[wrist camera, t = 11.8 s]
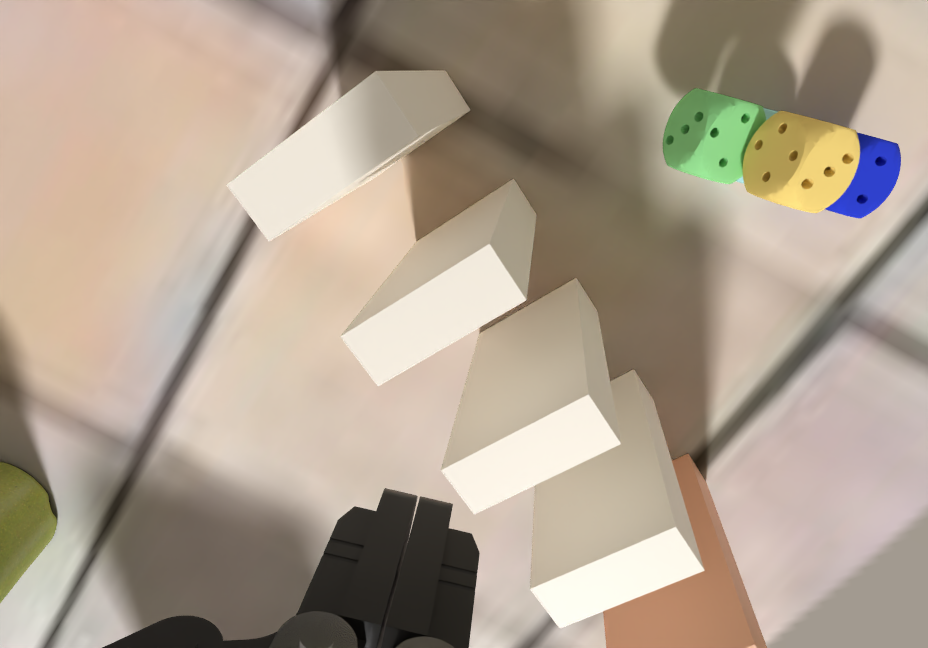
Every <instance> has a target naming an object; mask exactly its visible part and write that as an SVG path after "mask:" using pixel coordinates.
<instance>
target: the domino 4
mask: <svg viewBox="0 0 928 648" xmlns="http://www.w3.org/2000/svg"><path fill="white" fill-rule="evenodd" d="M610 384H611V390H612V395H613V401H614V407H615V412H616V418H617V423H618V429H619V435H620V440H621V444H620V445H618V446H616V447H614V448H612V449H610V450H607V451H605V452H603V453H601V454H599V455H597V456H595V457H593V458H591V459H589V460H587V461H585V462H583V463H580V464H578V465H576V466H574V467H572V468H570V469H568V470H566V471H564V472H562V473H560V474H558V475H555V476H553V477H551V478H549V479H547V480H545V481H543V482H541V483H539V484H537V485H535V493H534V515H533V536H532V558H531V579H530V590H531V591H532V592H533V594H534V595H535V596H536V598H537V599H538V600H539V602H540V603H541V604H542V606H543V607H544V608H545V610H546V611H547V612H548V614H549V615H550V616H551V618H552V619H553V620H554V622H555V623H556V624H557V626H558V627H559V628H563V627H565V626H568V625H570V624H573V623H575V622H578V621H580V620H583V619H585V618H588V617H590V616H593V615H595V614H598V613H600V612H603V611H605V610H608V609H610V608H613V607H615V606H618V605H620V604H623V603H625V602H628V601H630V600H633V599H635V598H638V597H640V596H643V595H645V594H648V593H650V592H653V591H655V590H658V589H660V588H663V587H665V586H668V585H670V584H673V583H675V582H678V581H680V580H683V579H685V578H688V577H690V576H693V575H695V574H698V573H700V572H703V571H705V570H704V567H703V563H702V560H701V557H700V553H699V550H698V547H697V543H696V540H695V537H694V533H693V530H692V527H691V523H690V520H689V517H688V513H687V510H686V507H685V503H684V500H683V497H682V493H681V490H680V487H679V483H678V480H677V477H676V473H675V470H674V467H673V463H672V460H671V457H670V453H669V450H668V447H667V443H666V440H665V437H664V433H663V430H662V426H661V423H660V420H659V416H658V413H657V410H656V406H655V403H654V400H653V398H652V397H651V395H650V394H649V392H648V390H647V389H646V387H645V386H644V384H643V383H642V381H641V379H640V378H639V376H638V375H637V373H636V371H635V370H634V369H633V370H631V371H629V372H627V373H625V374H623V375H621V376H619V377H617V378H616V379H614V380H612V381H610Z"/></svg>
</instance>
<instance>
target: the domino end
mask: <svg viewBox="0 0 928 648" xmlns="http://www.w3.org/2000/svg"><path fill="white" fill-rule="evenodd" d="M672 463H673V467H674V470H675V473H676V477H677V480H678V483H679V487H680V490H681V493H682V497H683V500H684V503H685V507H686V510H687V513H688V517H689V520H690V523H691V527H692V530H693V533H694V537H695V540H696V543H697V547H698V550H699V553H700V557H701V560H702V563H703V567H704V570H705V571H703V572H700V573H698V574H695V575H693V576H690V577H688V578H685V579H683V580H680V581H678V582H675V583H673V584H670V585H668V586H665V587H663V588H660V589H658V590H655V591H653V592H650V593H648V594H645V595H643V596H640V597H638V598H635V599H633V600H630V601H628V602H625V603H623V604H620V605H618V606H615V607H613V608H610V609H608V610H605V611H603V614H604V625H605V636H606V647H607V648H767V646H766V644H765V641H764V638H763V636H762V633H761V630H760V627H759V625H758V622H757V619H756V616H755V614H754V611H753V608H752V606H751V603H750V600H749V597H748V595H747V592H746V589H745V587H744V584H743V581H742V578H741V576H740V573H739V570H738V567H737V565H736V562H735V559H734V557H733V554H732V551H731V548H730V546H729V543H728V540H727V538H726V535H725V532H724V529H723V527H722V524H721V521H720V518H719V516H718V513H717V510H716V508H715V505H714V502H713V499H712V497H711V494H710V491H709V489H708V486H707V483H706V481H705V480H704V478H703V476H702V475H701V473H700V471H699V470H698V468H697V467H696V465H695V463H694V462H693V460H692V459H691V457H690V455H689V454H686V455H684V456H681V457H679V458H677V459H675V460H672Z"/></svg>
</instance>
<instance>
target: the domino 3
mask: <svg viewBox="0 0 928 648" xmlns="http://www.w3.org/2000/svg"><path fill="white" fill-rule="evenodd" d="M620 444H621V440H620V435H619V429H618V423H617V418H616V412H615V407H614V401H613V395H612V390H611V384H610V378H609V373H608V367H607V362H606V356H605V350H604V345H603V339H602V333H601V328H600V322H599V317H598V311H597V310H596V308H595V306H594V305H593V303H592V302H591V300H590V299H589V297H588V295H587V294H586V292H585V291H584V289H583V287H582V286H581V284H580V283H579V281H578V280H577V278H575V279H573V280H571V281H569V282H568V283H566V284H564V285H563V286H561V287H559V288H557V289H556V290H554V291H552V292H550V293H549V294H547V295H545V296H543V297H542V298H540V299H538V300H537V301H535V302H533V303H531V304H530V305H528V306H526V307H524V308H523V309H521V310H519V311H518V312H516V313H514V314H512V315H511V316H509V317H507V318H505V319H504V320H502V321H500V322H498V323H497V324H495V325H493V326H492V327H490V328H488V329H486V330H485V331H483V332H481V333H479V337H478V340H477V344H476V347H475V351H474V355H473V358H472V362H471V365H470V369H469V372H468V376H467V379H466V383H465V386H464V390H463V393H462V397H461V401H460V404H459V408H458V411H457V415H456V418H455V422H454V425H453V429H452V432H451V436H450V439H449V443H448V447H447V450H446V454H445V457H444V461H443V464H442V468H441V471H442V473H443V474H444V475H445V477H446V478H447V479H448V481H449V482H450V483H451V485H452V486H453V487H454V489H455V490H456V491H457V493H458V494H459V495H460V497H461V498H462V499H463V501H464V502H465V503H466V505H467V506H468V507H469V508H470V510H471V511H472V512H473V514H476V513H478V512H481V511H483V510H485V509H487V508H489V507H491V506H493V505H495V504H497V503H499V502H501V501H503V500H506V499H508V498H510V497H512V496H514V495H516V494H518V493H520V492H522V491H524V490H526V489H528V488H531V487H533V486H535V485H537V484H539V483H541V482H543V481H545V480H547V479H549V478H551V477H553V476H555V475H558V474H560V473H562V472H564V471H566V470H568V469H570V468H572V467H574V466H576V465H578V464H580V463H583V462H585V461H587V460H589V459H591V458H593V457H595V456H597V455H599V454H601V453H603V452H605V451H607V450H610V449H612V448H614V447H616V446H618V445H620Z"/></svg>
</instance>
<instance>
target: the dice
mask: <svg viewBox="0 0 928 648" xmlns="http://www.w3.org/2000/svg"><path fill="white" fill-rule="evenodd" d="M663 153H664V157H665V161H666V163H667V165H668V166H670V167H672V168H674V169H677V170H679V171H682V172H685V173H688V174H691V175H694V176H697V177H701V178H704V179H708V180H711V181H715V182H720V183H725V184H731V183H733V182H735V181H737V182H741V183H744V184H745V188H746V190H747V192H749V193H750V194H753V195H755V196H757V197H760V198H763V199H765V200H768V201H771V202H774V203H777V204H780V205H784V206H787V207H790V208H794V209H798V210H802V211H806V212H811V213H818V212H820V211H822V210H824V209H826V210H829V211H833V212H836V213H839V214H843V215H847V216H850V217H855V218H862V217H864V216H866V215H868V214H869V213H871V212H872V211H874V210H875V209H876V208H877V207H879V206H880V205H881V204H882V203H883V202H884V201H885V199H886V198H887V197H888V196H889V194H890V193H891V191H892V190H893V188H894V186H895V184H896V181H897V179H898V176H899V171H900V165H901V155H900V149H899V146H898V144H897V143H893V142H890V141H886V140H883V139H879V138H876V137H872V136H868V135H864V134H861V133H857V132H856V130H853V129H850V128H847V127H843V126H840V125H836V124H832V123H829V122H825V121H821V120H818V119H814V118H810V117H806V116H802V115H798V114H794V113H790V112H786V111H779V112H778V111H774V110H770V109H766V108H763V106H761V105H757V104H754V103H751V102H747V101H744V100H740V99H736V98H733V97H729V96H725V95H722V94H718V93H714V92H710V91H706V90H702V89H697V88H695V89H693V90H692V91H690V92H689V93H688V94H686V95H685V96H684V97H683V98H682V99H681V100H680V101H679V102H678V104H677V105H676V106H675V108H674V110H673V111H672V113H671V115H670V117H669V120H668V122H667V125H666V128H665V132H664V137H663Z"/></svg>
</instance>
